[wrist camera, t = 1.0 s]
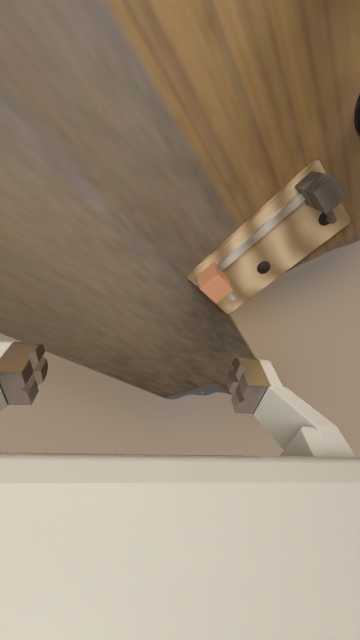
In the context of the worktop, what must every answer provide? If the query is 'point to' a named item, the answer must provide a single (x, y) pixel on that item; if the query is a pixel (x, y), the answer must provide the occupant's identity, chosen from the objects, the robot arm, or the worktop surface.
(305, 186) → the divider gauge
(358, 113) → the milk frother
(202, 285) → the block
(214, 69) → the worktop surface
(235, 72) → the worktop surface
